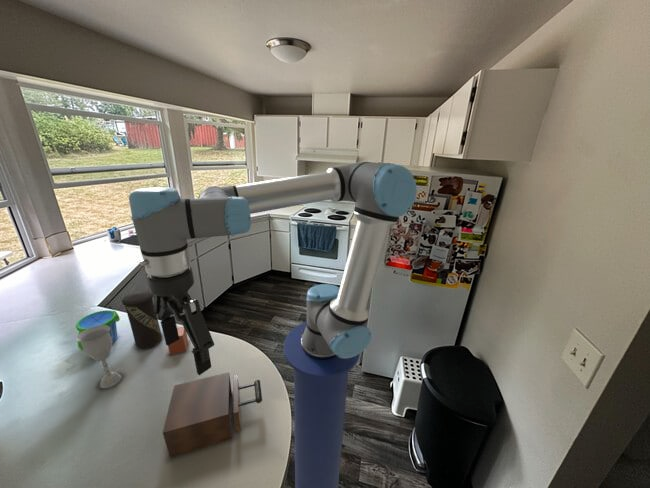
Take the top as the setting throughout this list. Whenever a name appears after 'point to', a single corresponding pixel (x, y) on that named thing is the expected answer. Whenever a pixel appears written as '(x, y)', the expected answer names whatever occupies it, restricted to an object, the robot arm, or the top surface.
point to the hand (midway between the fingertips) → (187, 355)
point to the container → (142, 318)
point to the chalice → (99, 351)
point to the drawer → (237, 401)
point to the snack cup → (99, 323)
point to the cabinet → (198, 414)
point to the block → (179, 342)
